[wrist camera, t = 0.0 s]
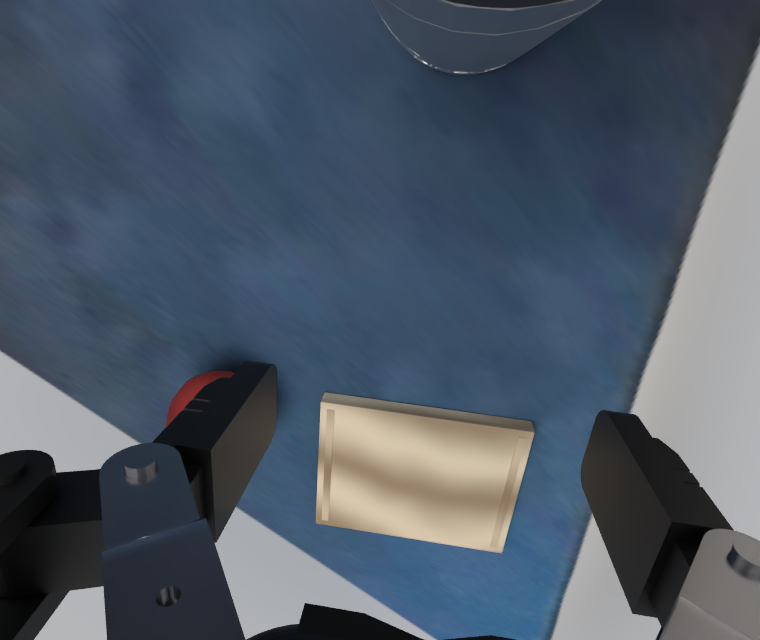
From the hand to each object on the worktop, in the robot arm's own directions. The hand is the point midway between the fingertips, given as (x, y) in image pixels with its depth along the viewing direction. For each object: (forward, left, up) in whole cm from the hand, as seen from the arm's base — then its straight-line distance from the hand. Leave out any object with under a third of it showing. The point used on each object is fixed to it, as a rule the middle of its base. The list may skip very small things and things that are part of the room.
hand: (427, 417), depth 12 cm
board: (+17, +1, -17) cm, 24 cm away
